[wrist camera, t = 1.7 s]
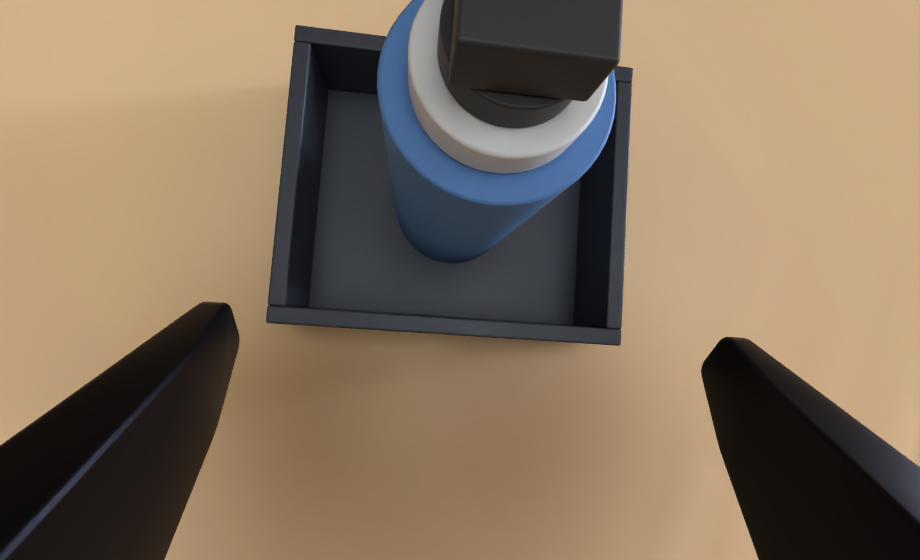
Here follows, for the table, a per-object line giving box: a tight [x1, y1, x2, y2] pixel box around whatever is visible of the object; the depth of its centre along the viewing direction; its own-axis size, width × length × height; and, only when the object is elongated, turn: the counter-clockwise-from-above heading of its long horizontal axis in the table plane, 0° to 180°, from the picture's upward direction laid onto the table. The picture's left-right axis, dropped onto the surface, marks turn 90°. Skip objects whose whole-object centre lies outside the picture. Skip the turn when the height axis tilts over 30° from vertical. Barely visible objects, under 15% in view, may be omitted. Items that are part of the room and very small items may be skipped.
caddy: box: [266, 25, 633, 346], centre depth 18 cm, size 11×13×4 cm
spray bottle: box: [377, 0, 623, 263], centre depth 13 cm, size 5×5×14 cm
